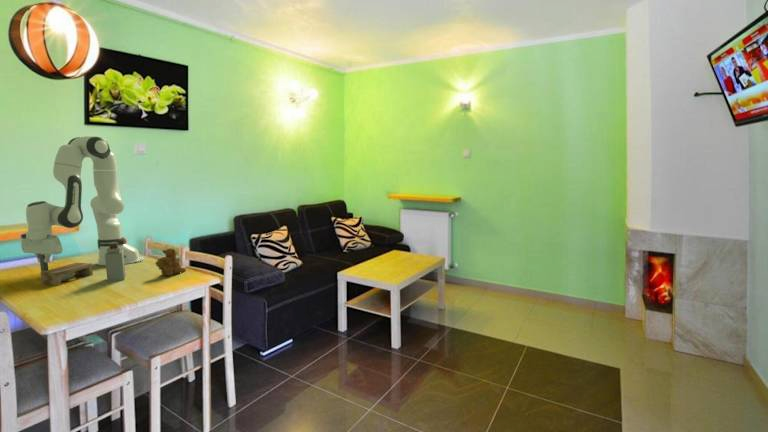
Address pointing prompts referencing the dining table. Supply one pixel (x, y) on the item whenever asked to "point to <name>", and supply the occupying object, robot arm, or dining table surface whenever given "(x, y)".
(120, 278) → the perfume bottle
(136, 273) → the dining table surface
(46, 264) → the slab with upright peg
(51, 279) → the bench
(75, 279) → the token
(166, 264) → the stuffed squirrel
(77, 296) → the dining table surface
